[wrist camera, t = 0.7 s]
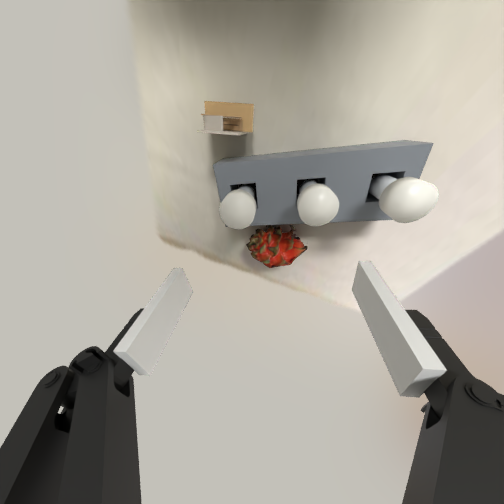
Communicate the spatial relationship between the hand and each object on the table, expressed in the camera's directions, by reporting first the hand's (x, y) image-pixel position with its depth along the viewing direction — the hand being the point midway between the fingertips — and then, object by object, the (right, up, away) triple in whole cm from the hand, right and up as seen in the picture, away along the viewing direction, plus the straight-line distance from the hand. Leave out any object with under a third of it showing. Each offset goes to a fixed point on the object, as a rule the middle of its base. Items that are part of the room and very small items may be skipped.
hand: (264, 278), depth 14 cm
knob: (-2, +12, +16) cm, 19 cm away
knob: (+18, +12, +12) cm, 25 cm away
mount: (+8, +14, +18) cm, 24 cm away
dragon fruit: (+4, +5, +25) cm, 26 cm away
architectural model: (-4, +22, +15) cm, 27 cm away
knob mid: (+8, +12, +14) cm, 20 cm away
